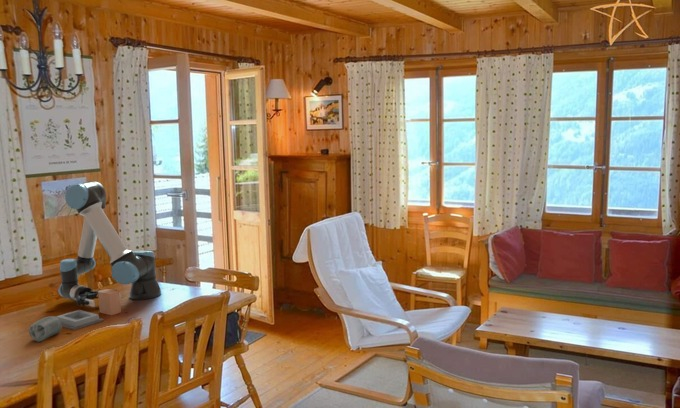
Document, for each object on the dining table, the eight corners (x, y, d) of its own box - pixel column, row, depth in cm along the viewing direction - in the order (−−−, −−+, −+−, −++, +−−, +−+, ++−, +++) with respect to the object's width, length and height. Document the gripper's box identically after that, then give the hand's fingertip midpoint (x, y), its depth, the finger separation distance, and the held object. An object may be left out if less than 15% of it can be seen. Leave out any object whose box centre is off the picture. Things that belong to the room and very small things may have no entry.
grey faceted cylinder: (43, 337, 232) (36, 313, 235) (26, 346, 235) (20, 323, 238) (70, 334, 245) (64, 311, 247) (54, 342, 248) (48, 320, 250)
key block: (109, 309, 278) (107, 288, 277) (120, 312, 273) (119, 291, 271) (99, 312, 274) (97, 291, 273) (111, 315, 269) (109, 294, 267)
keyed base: (81, 314, 271) (81, 308, 270) (103, 320, 261) (102, 314, 261) (52, 323, 260) (51, 316, 259) (73, 330, 250) (73, 323, 249)
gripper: (105, 294, 295) (131, 300, 283) (57, 308, 275) (82, 315, 263) (104, 280, 294) (130, 285, 282) (56, 292, 274) (81, 298, 262)
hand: (107, 300), depth 272 cm, fingers open, 13 cm apart
